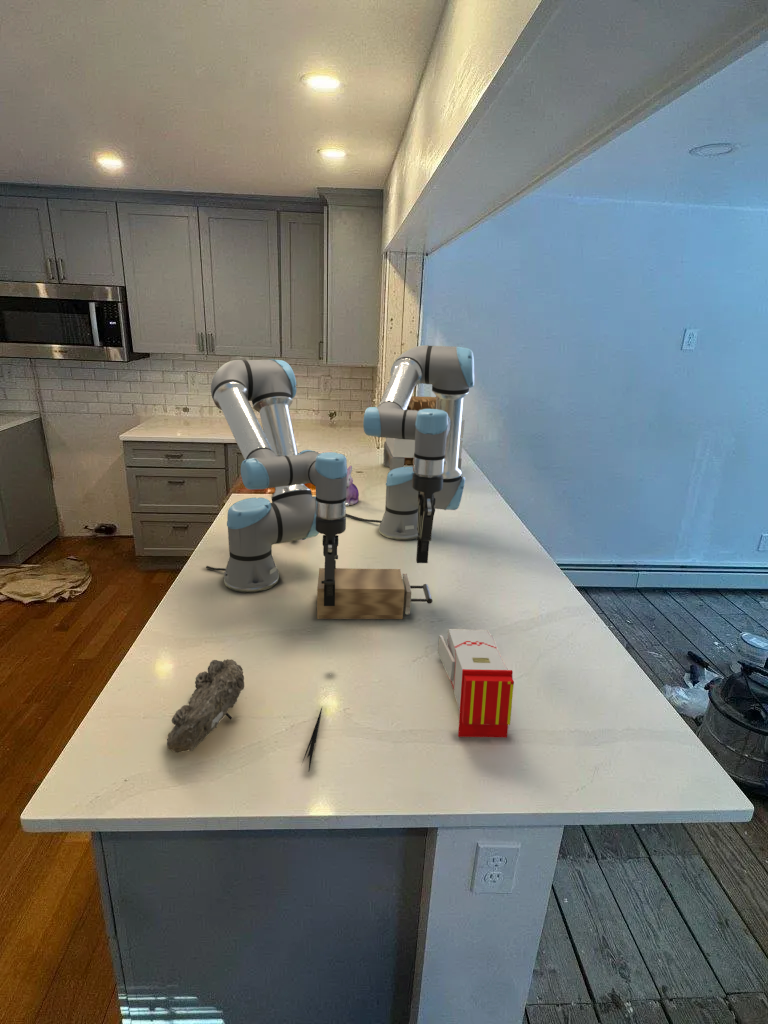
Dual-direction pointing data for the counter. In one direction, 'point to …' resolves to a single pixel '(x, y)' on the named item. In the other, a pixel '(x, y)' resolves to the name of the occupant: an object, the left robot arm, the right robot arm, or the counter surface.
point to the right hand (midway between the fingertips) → (421, 561)
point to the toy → (478, 682)
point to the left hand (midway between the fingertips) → (329, 593)
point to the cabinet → (363, 594)
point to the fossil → (206, 705)
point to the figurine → (351, 489)
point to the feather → (313, 740)
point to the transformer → (403, 449)
